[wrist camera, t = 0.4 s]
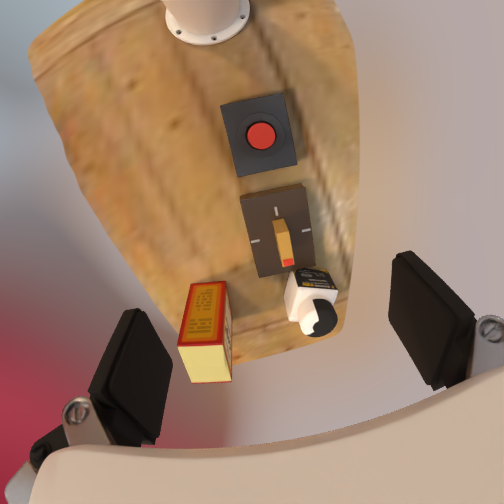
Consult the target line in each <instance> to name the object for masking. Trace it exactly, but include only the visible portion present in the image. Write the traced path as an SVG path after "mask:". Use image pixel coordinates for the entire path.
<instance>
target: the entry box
mask: <svg viewBox="0 0 504 504" xmlns="http://www.w3.org/2000/svg"><path fill="white" fill-rule="evenodd" d="M220 108H221V112H222V116H223V120H224V124H225V128H226V132H227V136H228V140H229V144H230V148H231V152H232V156H233V160H234V164H235V168H236V173H237V177H241V176H246V175H250V174H255V173H259V172H264V171H269V170H274V169H279V168H284V167H289V166H294V165H297V160H296V154H295V149H294V144H293V139H292V134H291V129H290V124H289V119H288V114H287V110H286V105H285V101H284V96H283V93H281V94H275V95H269V96H263V97H258V98H253V99H248V100H243V101H238V102H234V103H230V104H225V105H221V106H220ZM256 123H265V124H268V125H270V126H271V127H272V128H273V130H274V132H275V141H274V143H273V144H272V145H271V146H270V147H268V148H266V149H257V148H255V147H253V146H252V145H251V144H250V142H249V140H248V131H249V129H250V127H251V126H253V125H254V124H256Z"/></svg>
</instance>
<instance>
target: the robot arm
mask: <svg viewBox="0 0 504 504" xmlns="http://www.w3.org/2000/svg"><path fill="white" fill-rule="evenodd" d="M162 2H163V3H164V4H165V6H166V7H167V9H166V15H165V17H166V23H167V26H168V28H169V29H170V31H171V32H172V33H173V35H174V36H176V37H177V38H178V39H180V40H181V41H184V42H186V43H189V44H193V45H201V46H202V45H213V44H218V43H221V42H224V41H226V40H228V39H230V38H232V37H233V36H235V35H236V34H237V33H239V32H240V31H241V29H242V28H243V27H244V26H245V24H246V23H247V20H248V18H249V13H250V4H249V1H248V0H162ZM241 18H244V19H241ZM180 32H181V34H179V33H180ZM214 38H216V40H215V41H214V40H213V39H214ZM474 315H475V314H474V313H473V311H472V310H471V309H470V308H469V307H468V306H467V305H466V304H465V303H464V302H463V301H462V300H461V299H460V297H459V296H458V295H457V294H456V293H455V292H454V291H453V290H452V289H451V288H450V287H449V286H448V285H447V284H446V283H445V282H444V281H443V280H442V279H441V278H440V277H439V276H438V275H437V274H436V273H435V272H434V271H433V270H432V269H431V268H430V267H429V266H428V265H427V264H425V263H424V262H423V261H422V260H421V259H420V258H419V257H418V256H417V255H416V254H415V253H414V252H412V251H406V252H402V253H398V254H397V255H396V258H395V259H393V261H392V276H391V290H390V302H389V312H388V318H389V321H390V324H391V325H392V326H393V328H394V330H395V332H396V333H397V335H398V336H399V338H400V340H401V341H402V343H403V345H404V347H405V348H406V350H407V351H408V353H409V355H410V357H411V358H412V360H413V362H414V364H415V365H416V367H417V369H418V370H419V372H420V374H421V376H422V378H423V380H424V381H425V383H426V384H427V385H431V387H432V389H433V391H435V390H438V389H440V388H442V387H444V386H446V388H447V389H446V390H444V391H442V392H440V393H438V394H436V395H433V396H431V397H429V398H427V399H424V400H422V401H420V402H417V403H414V404H412V405H410V406H407V407H405V408H402V409H400V410H397V411H394V412H391V413H389V414H386V415H383V416H380V417H377V418H374V419H371V420H368V421H365V422H362V423H358V424H355V425H351V426H348V427H344V428H341V429H337V430H333V431H329V432H325V433H321V434H316V435H312V436H307V437H302V438H297V439H292V440H285V441H279V442H273V443H266V444H258V445H250V446H239V447H227V448H210V449H162V448H141V443H142V444H148V445H155V441H156V438H158V437H159V435H160V430H161V425H162V419H163V413H164V408H165V403H166V398H167V392H168V387H169V382H170V378H171V373H172V368H173V363H172V359H171V357H170V356H169V354H168V352H167V350H166V349H165V347H164V345H163V344H162V342H161V340H160V338H159V337H158V335H157V333H156V331H155V329H154V327H153V325H152V324H151V322H150V320H149V318H148V316H147V314H146V313H145V312H144V311H141V310H140V309H138V308H136V309H130V310H125V311H124V312H123V314H122V316H121V318H120V320H119V322H118V324H117V327H116V329H115V331H114V333H113V335H112V337H111V339H110V342H109V343H108V345H107V348H106V350H105V352H104V354H103V356H102V359H101V361H100V363H99V366H98V368H97V370H96V372H95V375H94V377H93V379H92V382H91V384H90V387H89V389H88V392H89V393H90V394H91V395H90V398H87V397H85V396H78V397H75V398H73V399H71V400H70V401H69V402H68V403H67V404H66V405H65V406H64V408H63V410H62V415H61V420H62V424H61V425H60V426H58V427H57V428H55V429H54V430H52V431H51V432H49V433H48V434H46V435H45V436H44V437H42V438H41V439H39V440H38V441H37V442H35V443H34V445H33V446H32V448H31V451H30V461H31V462H30V461H28V460H27V461H26V462H25V463H24V465H23V466H22V467H21V468H20V469H19V470H18V472H17V473H16V474H15V475H14V476H13V478H12V479H11V480H10V481H9V482H8V484H7V485H6V488H5V497H6V500H7V502H8V503H9V504H504V320H503V319H502V318H500V317H498V316H495V315H486V316H482V317H481V318H479V320H478V321H477V320H476V319H475V317H474Z"/></svg>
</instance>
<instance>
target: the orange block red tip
mask: <svg viewBox="0 0 504 504" xmlns="http://www.w3.org/2000/svg"><path fill="white" fill-rule="evenodd" d="M272 222H273V227H274V232H275V237H276V242H277V247H278V252H279V255H280V259H281V263H282V266H283V267H286V266H290V265H294V258H293V252H292V246H291V240H290V234H289V230H288V228H287V225H286V223H285V221H284V219H279V220H274V221H272Z"/></svg>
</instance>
